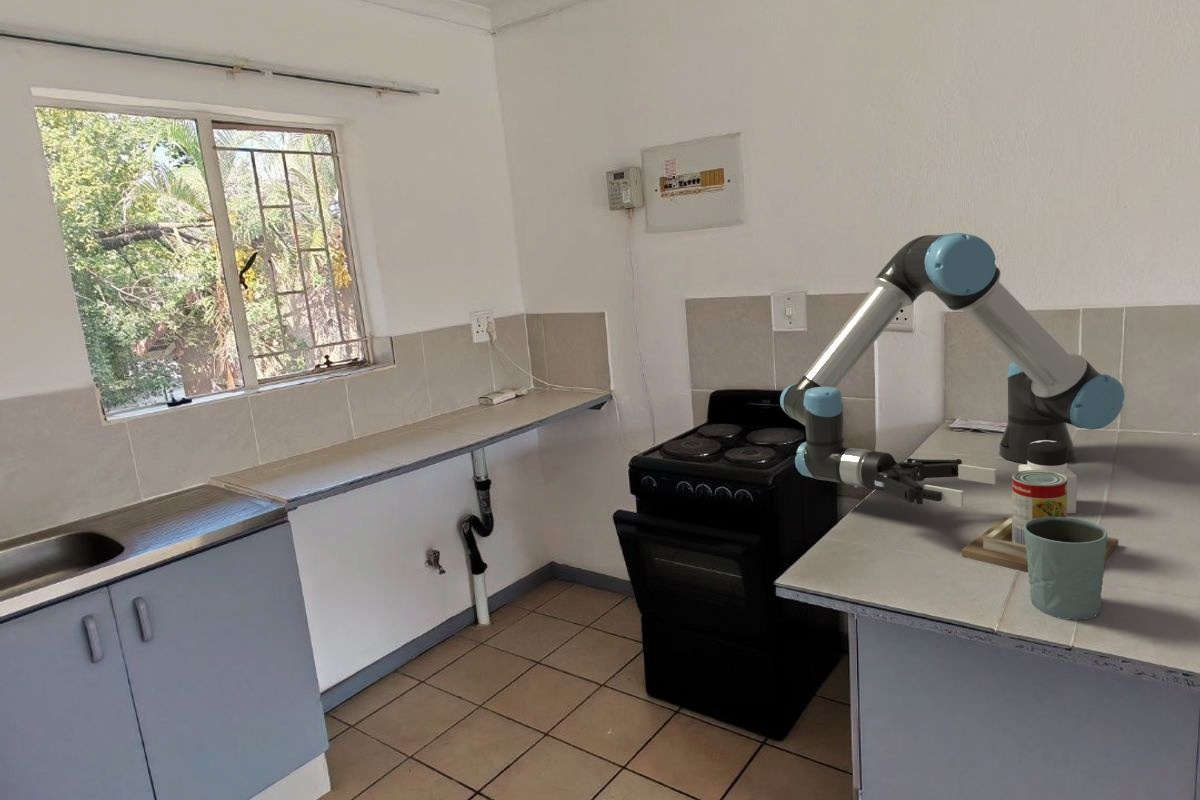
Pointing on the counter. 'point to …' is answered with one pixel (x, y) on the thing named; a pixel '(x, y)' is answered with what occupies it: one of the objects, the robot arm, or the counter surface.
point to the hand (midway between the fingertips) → (979, 487)
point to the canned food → (1036, 499)
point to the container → (1052, 465)
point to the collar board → (1008, 547)
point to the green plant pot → (1065, 565)
